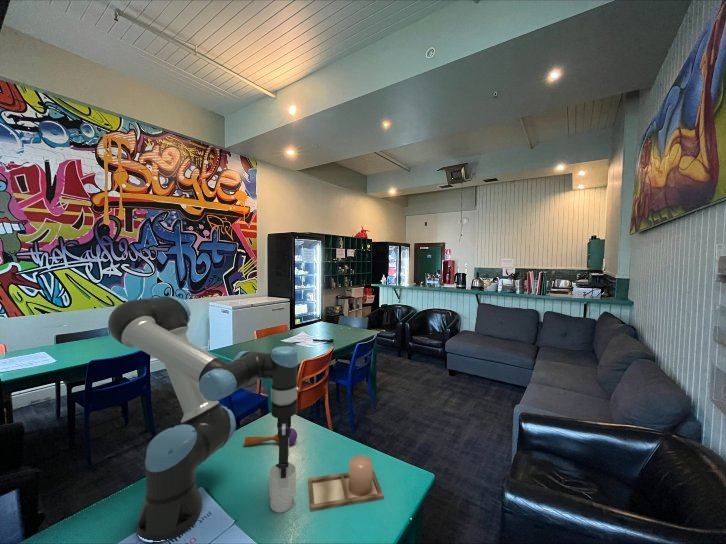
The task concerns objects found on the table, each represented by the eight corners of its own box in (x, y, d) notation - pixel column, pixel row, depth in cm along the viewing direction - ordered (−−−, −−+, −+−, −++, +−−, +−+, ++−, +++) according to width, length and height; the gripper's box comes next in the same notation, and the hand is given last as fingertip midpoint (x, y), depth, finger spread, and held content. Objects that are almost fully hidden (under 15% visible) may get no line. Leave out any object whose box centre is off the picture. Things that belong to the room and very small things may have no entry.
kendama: (247, 430, 119) (297, 425, 121) (247, 446, 118) (298, 440, 120) (243, 436, 113) (295, 430, 115) (243, 452, 112) (296, 446, 115)
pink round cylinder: (351, 498, 89) (351, 472, 89) (346, 480, 96) (347, 456, 96) (374, 494, 91) (375, 468, 91) (368, 477, 98) (369, 453, 98)
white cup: (279, 519, 82) (280, 484, 82) (262, 505, 87) (263, 472, 87) (301, 502, 89) (301, 469, 88) (284, 489, 93) (285, 458, 93)
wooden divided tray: (310, 515, 84) (310, 507, 84) (308, 484, 96) (308, 478, 96) (383, 502, 89) (383, 495, 89) (373, 475, 101) (373, 468, 101)
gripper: (298, 419, 76) (297, 500, 76) (296, 382, 100) (296, 444, 101) (267, 423, 74) (267, 505, 75) (273, 384, 99) (273, 447, 99)
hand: (284, 470), depth 88 cm, fingers open, 13 cm apart
